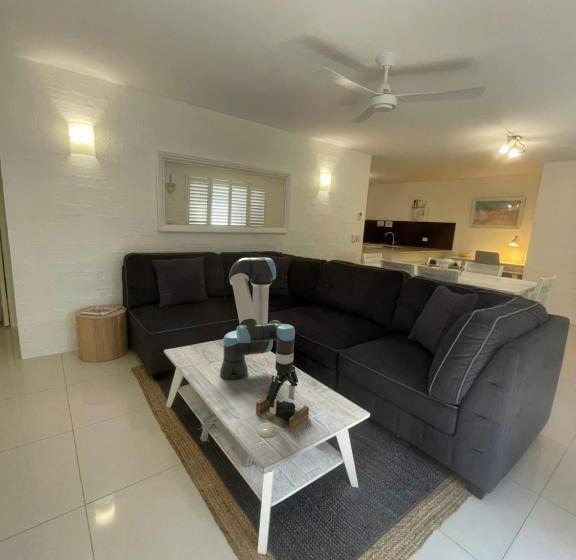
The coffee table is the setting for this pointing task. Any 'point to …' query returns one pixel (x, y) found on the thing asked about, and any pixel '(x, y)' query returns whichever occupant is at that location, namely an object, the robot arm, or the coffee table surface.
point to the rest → (291, 425)
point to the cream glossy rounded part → (266, 430)
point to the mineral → (285, 409)
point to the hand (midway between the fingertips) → (282, 405)
